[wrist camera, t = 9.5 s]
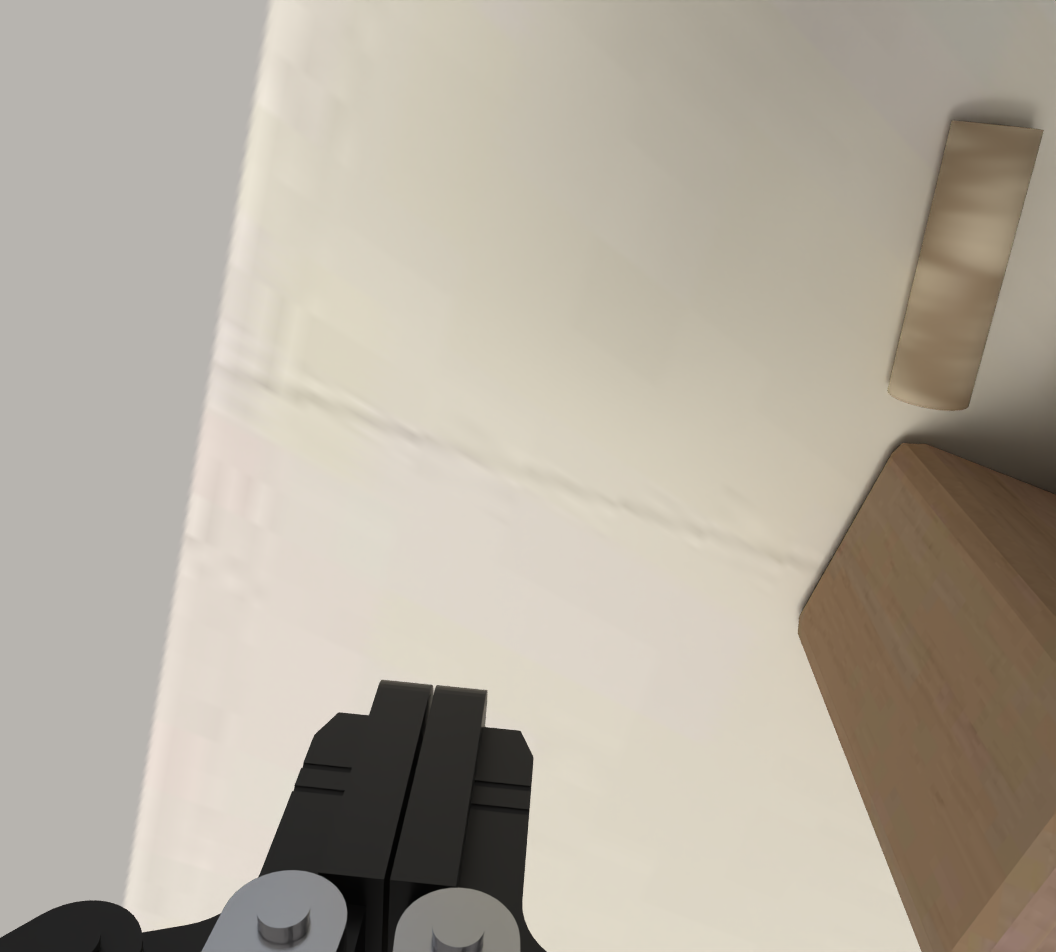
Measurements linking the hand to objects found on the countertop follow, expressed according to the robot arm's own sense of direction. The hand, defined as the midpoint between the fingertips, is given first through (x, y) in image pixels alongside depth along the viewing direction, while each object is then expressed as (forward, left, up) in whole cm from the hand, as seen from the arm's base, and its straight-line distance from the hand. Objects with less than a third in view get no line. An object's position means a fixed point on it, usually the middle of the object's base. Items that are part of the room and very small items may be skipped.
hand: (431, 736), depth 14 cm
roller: (-3, +17, -25) cm, 31 cm away
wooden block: (+10, +19, -28) cm, 35 cm away
